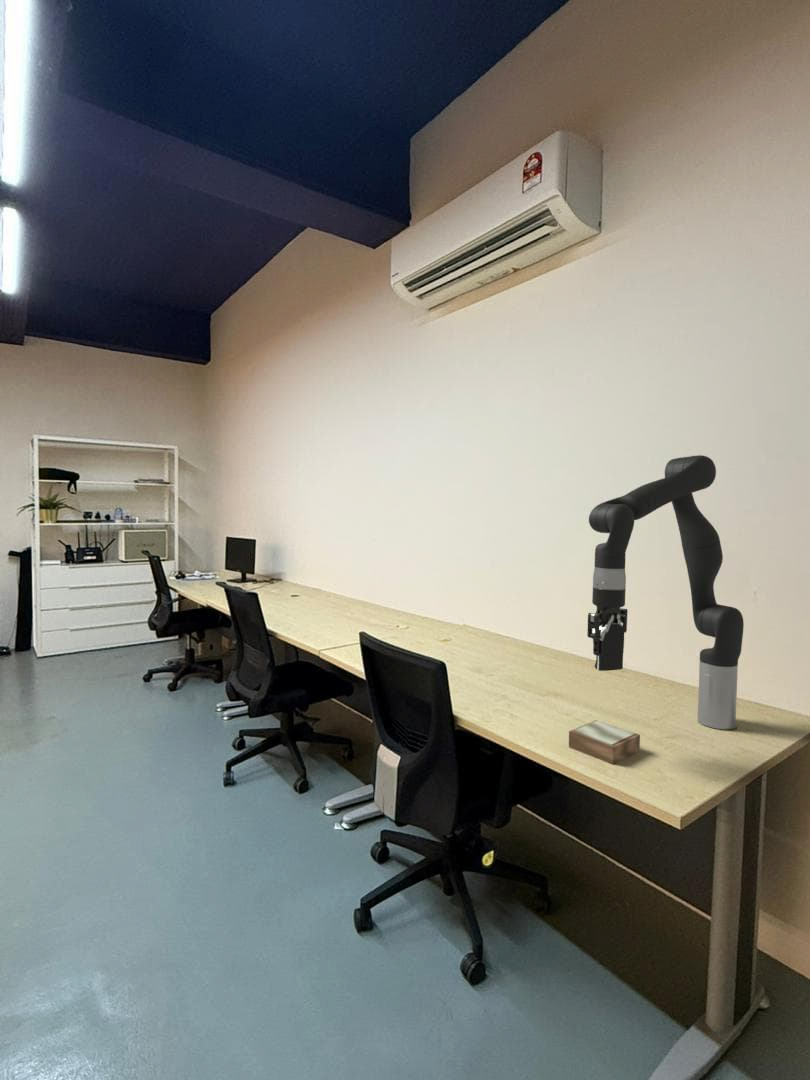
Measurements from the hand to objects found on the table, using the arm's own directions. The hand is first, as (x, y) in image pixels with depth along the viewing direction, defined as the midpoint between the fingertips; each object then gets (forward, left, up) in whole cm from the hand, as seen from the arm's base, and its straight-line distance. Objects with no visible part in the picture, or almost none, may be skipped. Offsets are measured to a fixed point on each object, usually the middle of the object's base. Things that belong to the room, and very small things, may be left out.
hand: (606, 652), depth 135 cm
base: (0, 0, -24) cm, 24 cm away
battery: (0, 0, -4) cm, 4 cm away
